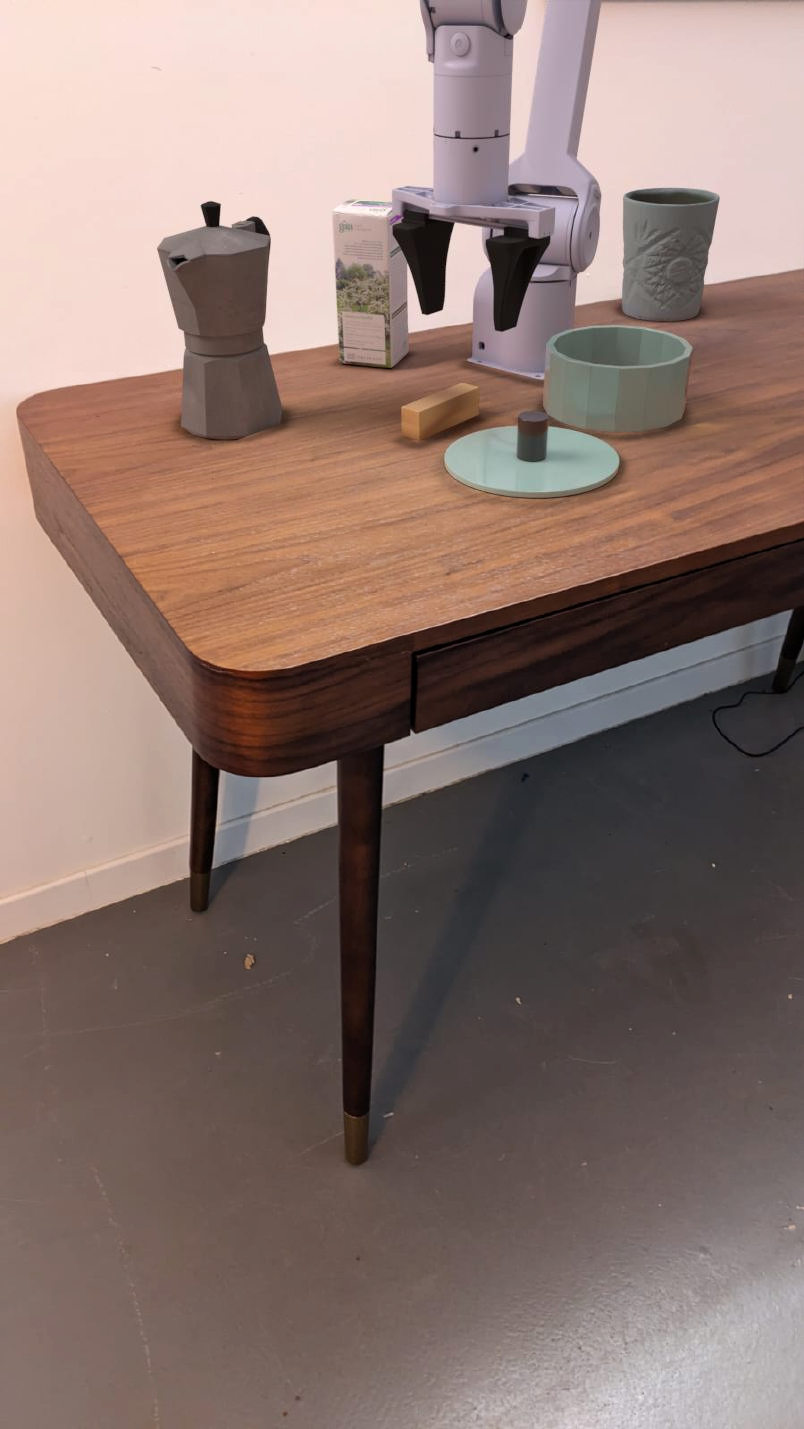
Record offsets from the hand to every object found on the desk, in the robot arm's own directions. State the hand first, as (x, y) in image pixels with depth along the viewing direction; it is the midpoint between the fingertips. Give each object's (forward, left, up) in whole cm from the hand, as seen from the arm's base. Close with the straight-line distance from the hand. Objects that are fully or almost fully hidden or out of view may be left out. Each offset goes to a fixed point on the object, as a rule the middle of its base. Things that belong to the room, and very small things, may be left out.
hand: (468, 320), depth 91 cm
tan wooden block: (-2, -1, -9) cm, 10 cm away
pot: (+7, +12, -9) cm, 17 cm away
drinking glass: (-7, +43, -10) cm, 44 cm away
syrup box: (-20, +10, -10) cm, 24 cm away
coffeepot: (-18, -10, -10) cm, 23 cm away
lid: (+9, -3, -9) cm, 13 cm away
